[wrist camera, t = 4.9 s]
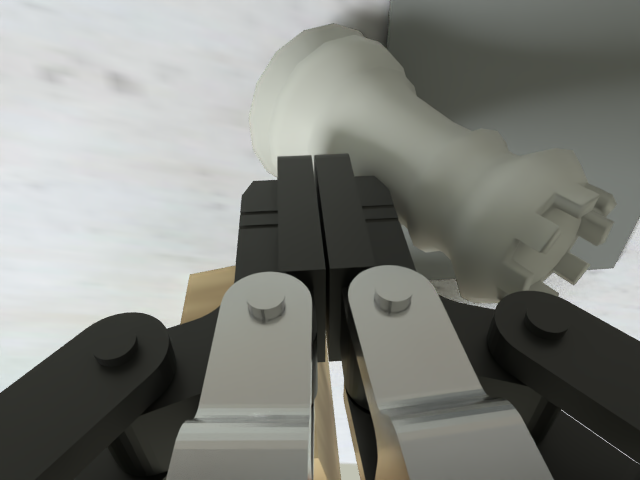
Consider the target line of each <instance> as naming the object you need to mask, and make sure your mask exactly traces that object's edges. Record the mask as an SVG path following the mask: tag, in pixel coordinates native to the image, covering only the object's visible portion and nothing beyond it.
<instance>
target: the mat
mask: <svg viewBox="0 0 640 480" xmlns="http://www.w3.org/2000/svg"><path fill="white" fill-rule="evenodd" d="M387 50H388V51H389V52H390V53H391V54H392V56H393V57H394V58H395V59H396V60H397V61H398V62H399V63H400V65H401V66H402V67H403V68H404V72H405V75H406V78H407V79H408V80H409V81H410V82H411V83H412V84H413V85H414V87H415V91H416V95H417V97H419V98H420V99H421V100H423V101H424V102H426V103H427V104H428V105H430V106H431V107H433V108H434V109H435V110H437V111H438V112H440V113H441V114H443V115H444V116H445V117H447V118H448V119H450V120H451V121H452V122H454V123H456V124H458V125H460V126H462V127H464V128H467V129H469V130H471V131H475V130H478V129H481V128H482V129H488V130H495V131H498V133H499V134H500V135H501V137H502V138H503V139H504V141H505V142H506V144H507V147H508V150H509V151H510V152H512V153H513V154H516V155H519V156H522V155H526V154H531V153H535V152H540V151H545V150H549V149H554V148H559V149H566V150H573V152H574V153H575V155H576V157H577V159H578V161H579V163H580V165H581V167H582V169H583V172H584V174H585V176H586V179H587V181H588V183H589V184H591V185H593V186H595V187H597V188H600V189H602V190H604V191H606V192H608V193H610V194H612V195H613V197H614V199H615V201H616V203H617V205H616V206H615V208H614V209H613V210H612V211H611V212H610V213H609V214H608V215H607V216H606V218H608V219H610V220H612V221H614V223H613V225H612V228H611V230H610V232H609V234H608V237H607V239H606V241H605V243H603V244H601V245H599V246H595V245H594V244H592V243H590V242H588V241H586V240H585V239H583V238H581V237H578V238H577V240H576V242H575V243H574V245H573V247H572V248H571V250H570V253H572V254H573V255H575V256H577V257H578V258H580V259H582V260H583V261H585V262H587V263H589V264H590V267H589V268H588V269H587V270H593V269H609V268H614V266H615V264H616V262H617V260H618V258H619V256H620V254H621V252H622V250H623V248H624V246H625V244H626V242H627V240H628V238H629V236H630V234H631V232H632V230H633V229H634V227H635V225H636V223H637V221H638V219H639V217H640V0H390V8H389V23H388V37H387ZM592 211H593V210H592ZM594 212H595V211H594ZM596 213H597V212H596ZM598 214H599V213H598ZM600 215H601V214H600ZM602 216H603V215H602ZM604 217H605V216H604ZM401 227H402V230H403V233H404V236H405V239H406V242H407V245H408V248H409V251H410V254H411V257H412V260H413V263H414V266H415V269H416V271H417V272H418V273H419V274H421V275H423V276H424V277H425V278H427V279H428V280H442V279H456V277H455V273H454V269H453V266H452V262H451V260H450V259H449V258H448V257H447V256H446V255H445V254H444V253H443V252H441V251H435V252H424V251H422V250H420V249H419V248H417V247H415V246H413V243H412V240H411V237H410V235H409V232H408V229H407V228H406V227H404V226H403V225H402V224H401Z"/></svg>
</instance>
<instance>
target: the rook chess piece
mask: <svg viewBox="0 0 640 480" xmlns="http://www.w3.org/2000/svg"><path fill="white" fill-rule="evenodd" d="M249 125H250V132H251V140H252V147H253V151H254V152H255V154H256V155H257V157H258V158H259V160H260V161H261V163H262V165H263V166H264V168H265V169H266V171H267V172H268V173H270V174H272V175H274V176H275V177H277V156H299V155H312V162H313V170H314V155H320V154H343V153H348V154H349V156H350V160H351V164H352V168H353V172H354V176H375V177H376V178H377V179H379V180H380V181H381V182H382V183H383V184H384V185H385V186H386V187H387V188H388V189H389V191H390V194H391V197H392V200H393V203H394V208H395V209H396V212H397V215H398V221H400V224H402V225H403V226H404V227H406V228H407V229H408V232H409V235H410V237H411V240H412V243H413V246H415V247H417V248H419V249H420V250H422V251H424V252H435V251H441V252H443V253H444V254H445V255H446V256H447V257H448V258H449V259H450V260H451V262H452V266H453V269H454V273H455V277H456V281H457V284H458V288H459V292H460V295H461V297H462V298H464V299H466V300H468V301H471V302H473V303H499V302H500V301H501V300H502V299H503V298H504V297H505V296H507V295H509V294H511V293H515V292H518V291H540V292H545V293H549V294H552V295H555V296H558V295H559V293H558V292H556V291H554V290H553V289H551V288H550V287H548V286H547V285H545V284H544V283H543V282H544V281H545V280H546V279H547V278H548V277H549V276H550V275H551V274H552V273H553V272H554V273H555V274H557V275H558V276H560V277H562V278H563V279H565V280H566V281H568V282H569V283H571V284H573V285H575V284H576V283H577V281H578V280H579V279H580V278H581V276H582V275H583V274H584V273H585V271H586V270H587V269H588V268H589V267H590V264H589V263H587V262H585V261H583V260H582V259H580V258H578V257H577V256H575V255H573V254H572V253H570V250H571V248H572V247H573V245H574V243H575V242H576V240H577V238H578V237H581V238H583V239H585V240H586V241H588V242H590V243H592V244H594V245H595V246H599V245H601V244H603V243H605V241H606V239H607V237H608V234H609V232H610V230H611V228H612V225H613V223H614V221H612V220H610V219H608V218H606V216H607V215H608V214H609V213H610V212H611V211H612V210H613V209H614V208H615V206H616V205H617V203H616V201H615V199H614V197H613V195H612V194H610V193H608V192H606V191H604V190H602V189H600V188H597V187H595V186H593V185H591V184H589V183H588V181H587V179H586V176H585V174H584V172H583V169H582V167H581V165H580V163H579V161H578V159H577V157H576V155H575V153H574V152H573V150H566V149H559V148H554V149H549V150H545V151H540V152H535V153H531V154H526V155H522V156H519V155H516V154H513V153H512V152H510V151H509V150H508V147H507V144H506V142H505V141H504V139H503V138H502V137H501V135H500V134H499V133H498V131H495V130H488V129H482V128H481V129H478V130H475V131H471V130H469V129H467V128H464V127H462V126H460V125H458V124H456V123H454V122H452V121H451V120H450V119H448V118H447V117H445V116H444V115H443V114H441V113H440V112H438V111H437V110H435V109H434V108H433V107H431V106H430V105H428V104H427V103H426V102H424V101H423V100H421V99H420V98H419V97H417V95H416V91H415V87H414V85H413V84H412V83H411V82H410V81H409V80H408V79H407V78H406V75H405V72H404V68H403V67H402V66H401V65H400V63H399V62H398V61H397V60H396V59H395V58H394V57H393V56H392V54H391V53H390V52H389V51H388V50H387V49H386V48H385V47H384V46H383V45H382V44H381V43H380V42H378V41H375V40H371V39H368V38H365V37H364V36H363V35H362V34H361V32H360V31H358V30H354V29H351V28H347V27H344V26H341V25H337V24H334V23H333V24H329V25H325V26H320V27H316V28H312V29H308V30H304V31H303V32H301V33H300V34H299V35H297V36H296V37H295V38H294V39H292V40H291V41H290V42H288V43H287V44H286V45H284V46H283V47H282V48H281V49H279V50H278V51H277V52H276V53H275V55H274V56H273V58H272V59H271V61H270V63H269V64H268V66H267V67H266V69H265V71H264V72H263V74H262V76H261V77H260V79H259V80H258V82H257V84H256V88H255V92H254V97H253V101H252V105H251V110H250V114H249ZM592 210H593V211H592ZM594 211H595V212H594ZM596 212H597V213H596ZM598 213H599V214H598ZM600 214H601V215H600ZM602 215H603V216H602ZM604 216H605V217H604Z"/></svg>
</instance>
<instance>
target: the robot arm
mask: <svg viewBox="0 0 640 480" xmlns="http://www.w3.org/2000/svg"><path fill="white" fill-rule="evenodd" d="M277 179H278V180H267V181H253V182H252V183H251V185H250V186H249V187H248V189H247V190H246V191H245V192H244V194H243V195H242V200H241V211H240V213H241V215H240V223H239V234H238V245H237V256H236V267H235V279H234V284H233V285H232V286H231V287H230V288H229V289H228V290H227V291H226V293H225V295H224V296H223V299H222V302H221V305H220V306H219V307H218V308H216V309H215V310H213V311H212V312H210V313H209V314H207V315H205V316H203V317H201V318H198V319H195V320H193V321H190V322H186V323H183V324H180V325H177V326H174V327H171V328H168V329H166V327H165V326H164V325H163V324H162V322H160V321H159V320H158V319H157V318H155V317H153V316H151V315H147V314H144V313H136V312H135V313H122V314H117V315H113V316H109V317H107V318H104V319H102V320H100V321H98V322H96V323H94V324H92V325H91V326H89V327H88V328H86V329H85V330H84V331H82V332H81V333H80V334H78V335H77V336H76V337H74V338H73V339H72V340H70V341H69V342H68V343H66V344H65V345H64V346H62V347H61V348H60V349H58V350H57V351H56V352H54V353H53V354H52V355H50V356H49V357H48V358H46V359H45V360H44V361H42V362H41V363H40V364H38V365H37V366H36V367H34V368H33V369H32V370H30V371H29V372H28V373H26V374H25V375H24V376H22V377H21V378H20V379H18V380H17V381H16V382H14V383H13V384H12V385H10V386H9V387H8V388H6V389H5V390H4V391H2V392H1V393H0V480H314V400H315V398H316V395H317V391H318V364H317V363H318V362H325V339H326V338H327V347H328V357H329V361H342V367H343V374H344V396H343V397H344V404H345V409H346V413H347V418H348V423H349V428H350V432H351V437H352V442H353V446H354V451H355V456H356V461H357V465H358V470H359V475H360V479H361V480H640V341H638V340H636V339H635V338H633V337H631V336H629V335H627V334H626V333H624V332H622V331H620V330H618V329H617V328H615V327H613V326H611V325H609V324H608V323H606V322H604V321H602V320H600V319H599V318H597V317H595V316H593V315H591V314H590V313H588V312H586V311H584V310H582V309H581V308H579V307H577V306H575V305H573V304H572V303H570V302H568V301H566V300H564V299H562V298H560V297H558V296H555V295H552V294H549V293H545V292H540V291H518V292H515V293H511V294H509V295H507V296H505V297H504V298H503V299H502V300H501V301H500V302H499V303H498V305H497V307H496V309H495V310H494V309H488V308H483V307H478V306H473V305H467V304H462V303H458V302H455V301H452V300H449V299H446V298H444V297H442V296H440V295H438V293H437V291H436V289H435V288H434V286H433V285H432V283H431V282H430V281H429V280H428V279H427V278H425V277H424V276H423V275H421V274H419V273H418V272H417V271H416V269H415V266H414V263H413V260H412V257H411V254H410V251H409V248H408V245H407V242H406V239H405V236H404V233H403V230H402V227H401V224H400V221H398V215H397V212H396V209H395V208H394V203H393V200H392V197H391V194H390V191H389V189H388V188H387V187H386V186H385V185H384V184H383V183H382V182H381V181H380V180H379V179H377V178H376V177H375V176H354V172H353V168H352V164H351V160H350V156H349V154H348V153H343V154H320V155H314V170H313V162H312V155H299V156H277ZM561 410H563V411H564V412H566V413H567V414H568V415H567V414H566V413H564V412H563V411H561ZM569 415H570V416H571V417H573V418H574V419H576V420H577V421H579V422H580V423H581V424H580V423H579V422H577V421H576V420H574V419H573V418H571V417H570V416H569ZM582 424H583V425H584V426H586V427H587V428H589V429H590V430H591V431H590V430H589V429H587V428H586V427H584V426H583V425H582ZM592 431H593V432H594V433H596V434H597V435H599V436H600V437H602V438H603V439H604V440H603V439H602V438H600V437H599V436H597V435H596V434H594V433H593V432H592ZM605 440H606V441H607V442H609V443H610V444H612V445H613V446H614V447H613V446H612V445H610V444H609V443H607V442H606V441H605ZM615 447H616V448H617V449H619V450H620V451H622V452H623V453H625V454H626V455H627V456H629V457H630V458H632V459H633V460H635V461H636V462H637V463H636V462H635V461H633V460H632V459H630V458H629V457H627V456H626V455H625V454H623V453H622V452H620V451H619V450H617V449H616V448H615ZM638 463H639V464H638Z"/></svg>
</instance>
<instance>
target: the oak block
mask: <svg viewBox="0 0 640 480" xmlns="http://www.w3.org/2000/svg"><path fill="white" fill-rule="evenodd" d="M235 267H236V266H231V267H226V268H221V269H216V270H211V271H206V272H200V273H195V274H190V276H189V282H188V287H187V292H186V297H185V303H184V308H183V313H182V318H181V323H180V324H183V323H186V322H190V321H193V320H195V319H198V318H201V317H203V316H205V315H207V314H209V313H210V312H212V311H213V310H215V309H216V308H218V307H219V306H220V305H221V302H222V299H223V296H224V295H225V293H226V291H227V290H228V289H229V288H230V287H231V286H232V285H233V284H234V279H235ZM317 364H318V391H317V395H316V398H315V400H314V480H341V474H340V465H339V455H338V446H337V437H336V428H335V418H334V409H333V400H332V390H331V381H330V372H329V362H328V353H327V344H326V339H325V362H318V363H317Z"/></svg>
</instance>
